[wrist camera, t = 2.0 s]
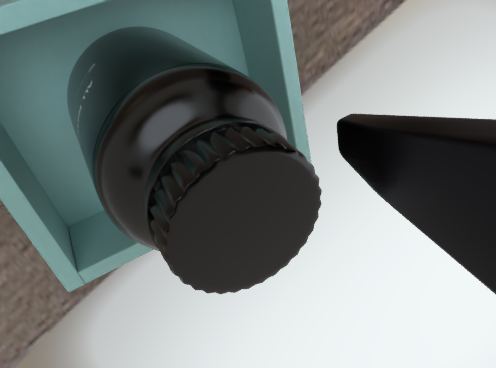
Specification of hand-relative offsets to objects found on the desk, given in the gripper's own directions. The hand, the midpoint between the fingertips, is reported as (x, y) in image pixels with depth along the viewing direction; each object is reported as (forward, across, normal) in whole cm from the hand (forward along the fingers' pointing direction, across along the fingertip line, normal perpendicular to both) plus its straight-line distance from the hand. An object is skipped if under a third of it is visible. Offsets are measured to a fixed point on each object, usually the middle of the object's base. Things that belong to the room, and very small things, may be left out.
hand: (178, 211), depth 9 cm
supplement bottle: (+13, -2, +2) cm, 13 cm away
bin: (+13, -2, +2) cm, 13 cm away
